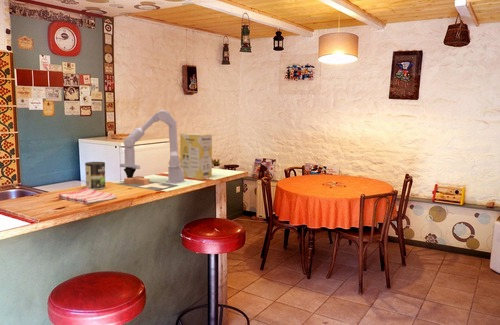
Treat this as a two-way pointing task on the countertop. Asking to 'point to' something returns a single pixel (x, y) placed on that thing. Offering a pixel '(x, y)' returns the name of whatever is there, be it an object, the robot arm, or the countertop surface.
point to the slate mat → (151, 185)
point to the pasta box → (196, 155)
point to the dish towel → (87, 196)
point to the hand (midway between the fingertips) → (130, 180)
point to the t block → (136, 180)
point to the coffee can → (95, 175)
